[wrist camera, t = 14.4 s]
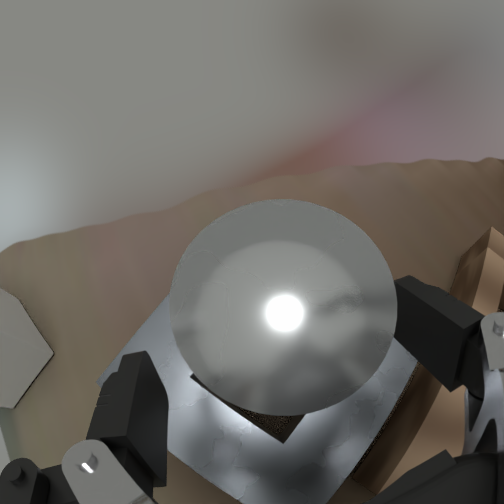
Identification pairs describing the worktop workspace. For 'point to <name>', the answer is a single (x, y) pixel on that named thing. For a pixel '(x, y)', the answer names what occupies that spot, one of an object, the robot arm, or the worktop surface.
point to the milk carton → (18, 350)
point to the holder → (258, 436)
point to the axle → (283, 307)
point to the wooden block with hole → (436, 382)
